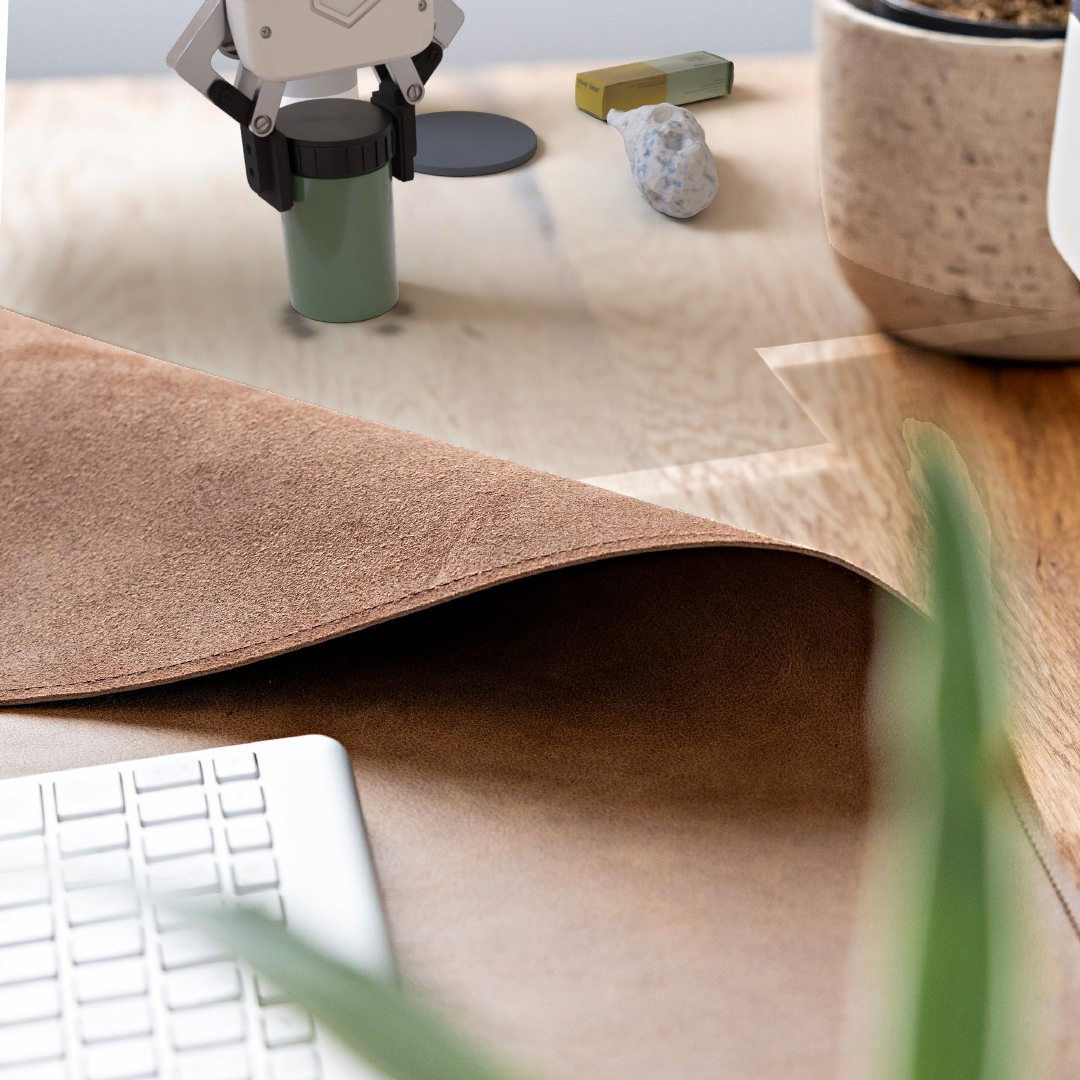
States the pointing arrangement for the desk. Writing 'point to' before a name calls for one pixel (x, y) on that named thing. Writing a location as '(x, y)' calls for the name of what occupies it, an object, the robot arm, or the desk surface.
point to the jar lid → (336, 136)
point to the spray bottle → (322, 88)
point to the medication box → (654, 83)
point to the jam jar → (342, 245)
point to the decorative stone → (668, 157)
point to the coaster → (471, 143)
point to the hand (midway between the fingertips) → (335, 184)
